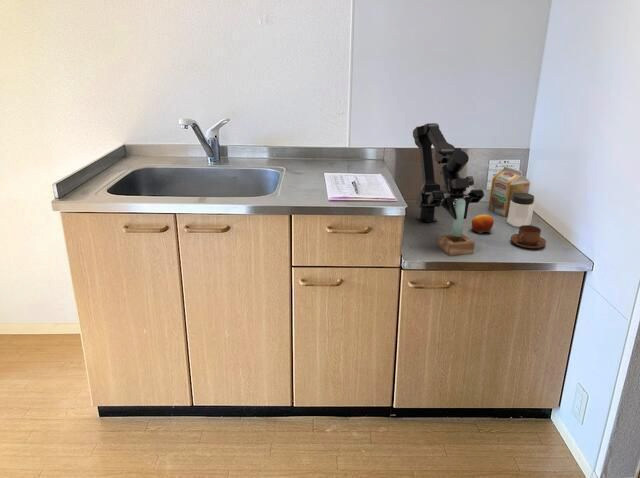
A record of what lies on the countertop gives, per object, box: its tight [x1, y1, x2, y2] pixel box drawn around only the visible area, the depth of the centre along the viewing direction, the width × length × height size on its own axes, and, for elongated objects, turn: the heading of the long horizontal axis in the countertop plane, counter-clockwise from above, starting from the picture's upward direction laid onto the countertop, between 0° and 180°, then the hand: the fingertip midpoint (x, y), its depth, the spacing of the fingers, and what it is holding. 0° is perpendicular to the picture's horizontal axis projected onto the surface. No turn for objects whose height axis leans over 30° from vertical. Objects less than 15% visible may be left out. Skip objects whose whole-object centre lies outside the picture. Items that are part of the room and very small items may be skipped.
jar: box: [506, 192, 535, 228], centre depth 198 cm, size 9×8×12 cm
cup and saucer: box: [510, 225, 547, 249], centre depth 180 cm, size 12×12×6 cm
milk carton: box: [487, 165, 531, 218], centre depth 210 cm, size 11×11×19 cm
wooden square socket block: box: [437, 233, 476, 257], centre depth 175 cm, size 9×9×4 cm
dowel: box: [451, 198, 466, 237], centre depth 171 cm, size 3×3×14 cm
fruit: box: [471, 214, 495, 234], centre depth 191 cm, size 8×8×8 cm
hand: (460, 218), depth 170 cm, fingers closed on dowel, 3 cm apart
